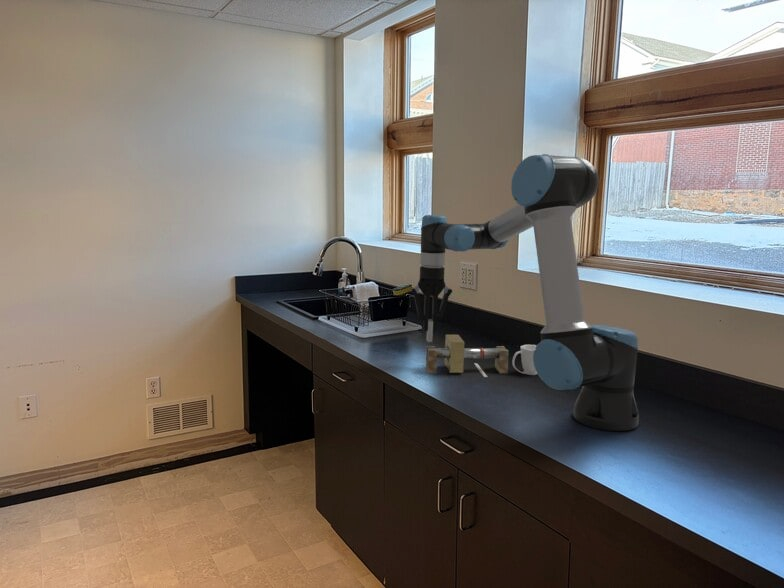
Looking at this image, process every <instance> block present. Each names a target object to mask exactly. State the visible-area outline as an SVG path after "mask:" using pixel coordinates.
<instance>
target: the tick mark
mask: <svg viewBox="0 0 784 588" xmlns="http://www.w3.org/2000/svg"><path fill="white" fill-rule="evenodd" d="M473 364H474V366H475V368H476V369H477V370H478V371H479V373H480V374H481V375H482V376H483V378H488V375H487V374H486V373H485V371H484V370H483V369H482V368H481V366H480V365H479V364H478V363H477V362H476V363H475V362H474V363H473Z"/></svg>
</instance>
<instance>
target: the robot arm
mask: <svg viewBox="0 0 784 588" xmlns="http://www.w3.org/2000/svg"><path fill="white" fill-rule="evenodd" d="M599 178H600V177H599V174H598V171H597V170H596V167H595V166H594V165H593V164H592V163H591V162H590V161H589V160H587V159H585V158H583V157H578V156H566V155H565V156H564V155H552V154H551V155H549V154H546V153H544V154H533V155H529V156H527V157H526V158H523V160H522V161H520V162H519V163H518V165H517V166H516V169H515V171H514V172H513V174H512V178H511V186H510V188H511V189H510V190H511V195H512V198H513V200H514V201H516V205H514V206H512V207H511V208H509V209H507V210H505V211H503V212H502V213H500V214H498V215H497V216H495V217H494V218H492V219H490V220H489V221H487V222H485V223H448V222H447V219H448V218H447V216H445V215H442V214H441V215H438V214H426V215H423V217H422V218H421V226H420V257H419V258H420V259H419V260H420V261H419V262H420V265H421V266H420V267H419V279H418V283H417V284H416V285H415V286H414V287H412V286H411V287H410V291H411V293H412V294H413V295H412V296H413V298H414V303H415V307H416V313H417V317H418V319H420V320H422V321H423V331H425V332H426V342H427V343H432V342H433V334H434V333H433V332H436V331H437V322H438V321H439V320H442V319H444V315H445V311H446V308H447V305H448V300H449V297H450V296H451V294H452V293H453V290H452V288H450V287H448V286H447V285H446V282H445V267H444V266H445V264H446V250H449V251H453V252H467V251H469V250H496V249H502V248H504V247H506V244H507V243H508V242H509V240H511V239H512V238H513V237H516V236H518V235H519V234H521V233H524V232H525V231H527V230H529V229H531V228H533V233H534V240H535V241H534V242H535V248H536V257H537V263H538V265H537V266H538V272H539V279H540V280H539V281H540V288H541V294H542V295H541V296H542V303H543V309H544V316H545V317H544V318H545V325H544V327H543V328H542V329H541V331H540V340H541V341H540V342H539V343H538V344H536V350H534V353H533V362H534V367H535V370H536V372H537V374H536V375H538V377H539V378H540V380H541V381H543V383H545V385H546V386H548V387H549V388H552V389H554V390H557V391H558V390H559V391H564V390H576V389H578V388H579V387H580V388H581V387H582V388H581V390H580V392H579V394H578V396H577V398H576V400H575V403H574V405H573V411H572V412H573V413H572V416H573V418H574V419H575V420H576V421H577V422H578V423H580V424H582V425H584V426H587V427H589V428H593V429H597V430H603V431H610V432H614V431H615V432H626V431H631V430H634V429H636V428H637V427H638V425H639V418H640V415H639V410H638V406H637V402H636V399H635V395H634V388H635V377H636V369H637V358H638V351H639V347H638V346H639V338H638V335H637V333H635V332H634V331H631V330H628V329H623V328H620V327H614V326H609V325H602V324H590V323H589V322H587V321H586V320H585V315H584V309H583V308H584V307H583V299H582V293H581V284H580V283H581V282H580V277H579V269H578V262H577V254H576V247H575V238H574V232H573V225H572V224H573V223H572V216H573V215H574V213H575V212H576V211H577V209H579V208H581V207H583V206H584V205H587V203H589V202H590V201H591V200H592V199H593V198H594V197H595V195H596V194H597V191H598V188H599V180H600V179H599ZM420 291H421V292H422V294H423V297H424V302H423V303H424V304H423V312H422V306H421V302H420V301H421V300H420V297H419V293H420ZM442 292H443V296H442V299H441V303H440V306H439V310H438V301H439V295H440V294H441V293H442ZM431 297H432V303H431V304H432V305H431V308H432V309H431V319H429V317H430V299H431Z"/></svg>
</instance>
